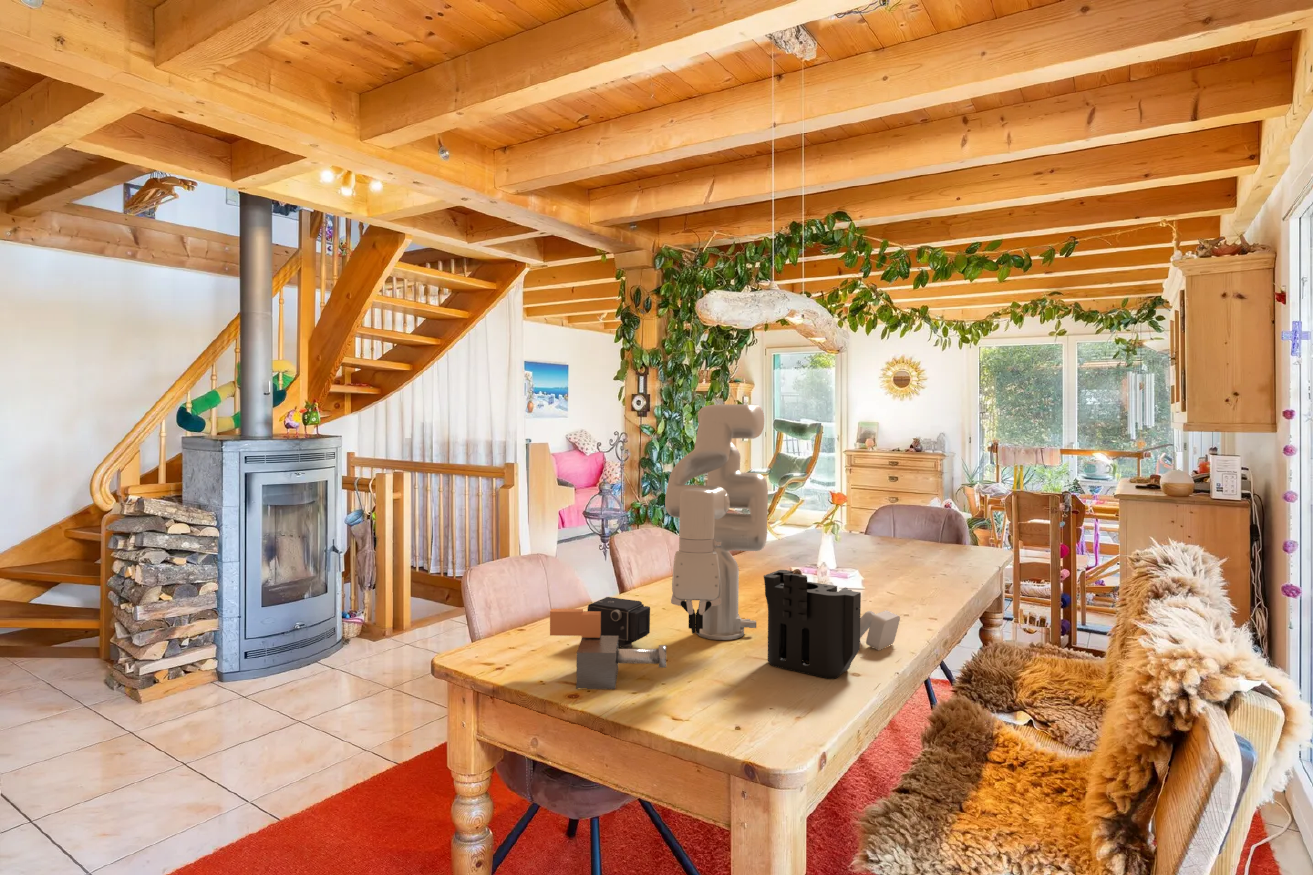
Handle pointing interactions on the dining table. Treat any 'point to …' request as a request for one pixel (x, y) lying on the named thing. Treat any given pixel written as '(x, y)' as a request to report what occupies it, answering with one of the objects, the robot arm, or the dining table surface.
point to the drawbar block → (597, 662)
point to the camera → (623, 619)
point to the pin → (642, 656)
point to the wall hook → (879, 628)
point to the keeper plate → (575, 623)
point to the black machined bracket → (811, 625)
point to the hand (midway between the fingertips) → (695, 631)
